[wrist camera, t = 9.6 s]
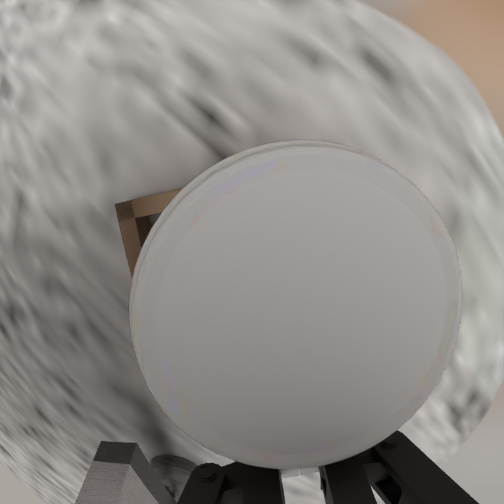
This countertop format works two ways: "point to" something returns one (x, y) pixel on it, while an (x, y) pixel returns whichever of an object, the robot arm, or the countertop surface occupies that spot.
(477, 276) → the countertop surface
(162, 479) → the pedestal
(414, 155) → the countertop surface
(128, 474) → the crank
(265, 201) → the coffee cup
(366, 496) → the robot arm
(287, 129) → the countertop surface
